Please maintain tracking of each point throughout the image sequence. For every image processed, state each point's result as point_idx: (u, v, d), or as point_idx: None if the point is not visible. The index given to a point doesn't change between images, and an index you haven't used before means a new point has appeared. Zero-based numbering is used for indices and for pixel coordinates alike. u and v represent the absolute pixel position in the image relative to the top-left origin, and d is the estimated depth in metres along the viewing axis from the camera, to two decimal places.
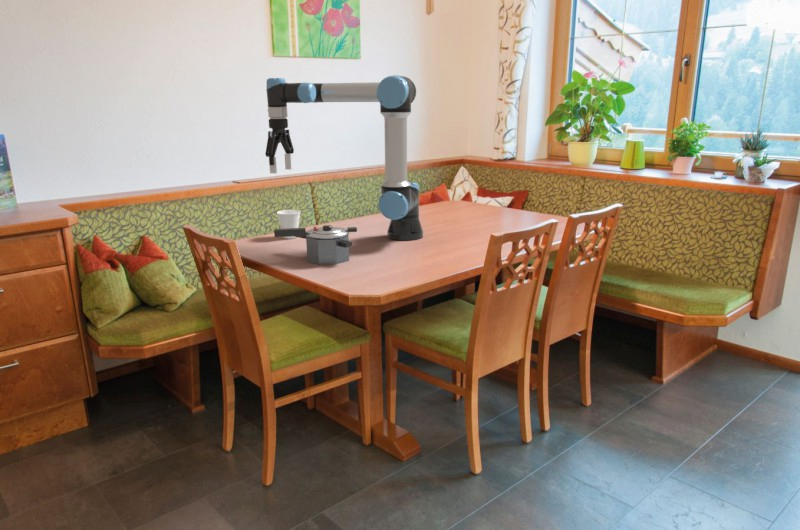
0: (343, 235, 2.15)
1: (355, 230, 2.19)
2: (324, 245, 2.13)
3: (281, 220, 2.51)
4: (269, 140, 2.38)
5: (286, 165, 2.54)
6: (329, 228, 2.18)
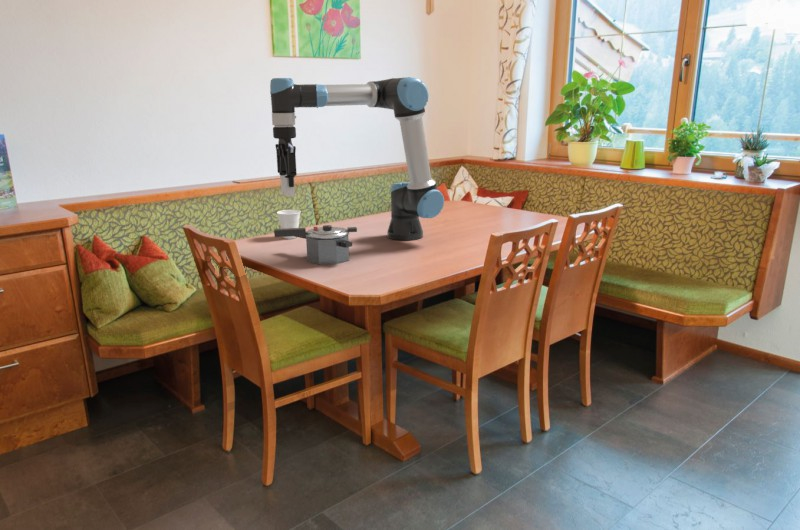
0: (343, 235, 2.15)
1: (355, 230, 2.19)
2: (324, 245, 2.13)
3: (281, 220, 2.51)
4: None
5: None
6: (329, 228, 2.18)
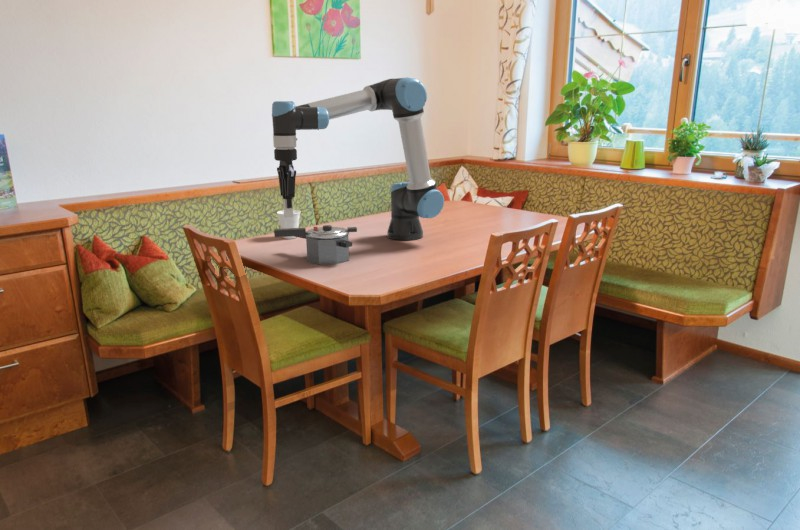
0: (343, 235, 2.15)
1: (355, 230, 2.19)
2: (324, 245, 2.13)
3: (281, 220, 2.51)
4: None
5: None
6: (329, 228, 2.18)
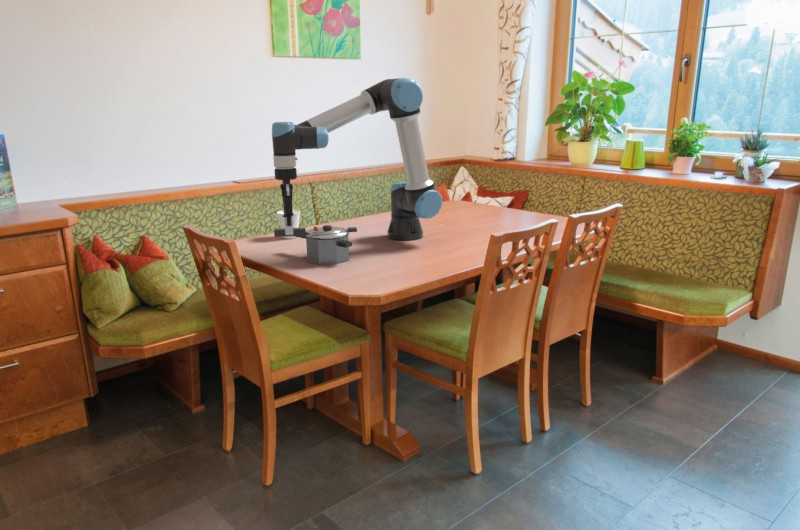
0: (343, 235, 2.15)
1: (355, 230, 2.19)
2: (324, 245, 2.13)
3: (281, 220, 2.51)
4: None
5: None
6: (329, 228, 2.18)
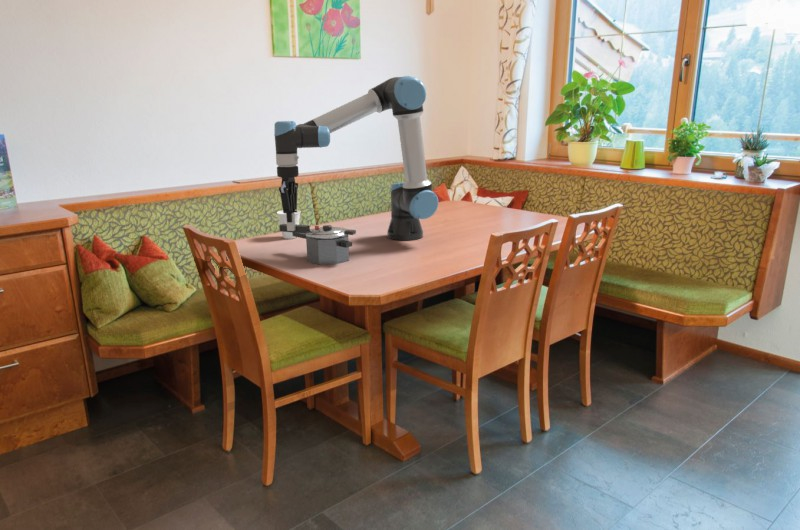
0: (334, 237, 2.13)
1: (351, 233, 2.15)
2: (324, 245, 2.13)
3: (281, 220, 2.51)
4: None
5: None
6: (327, 228, 2.17)
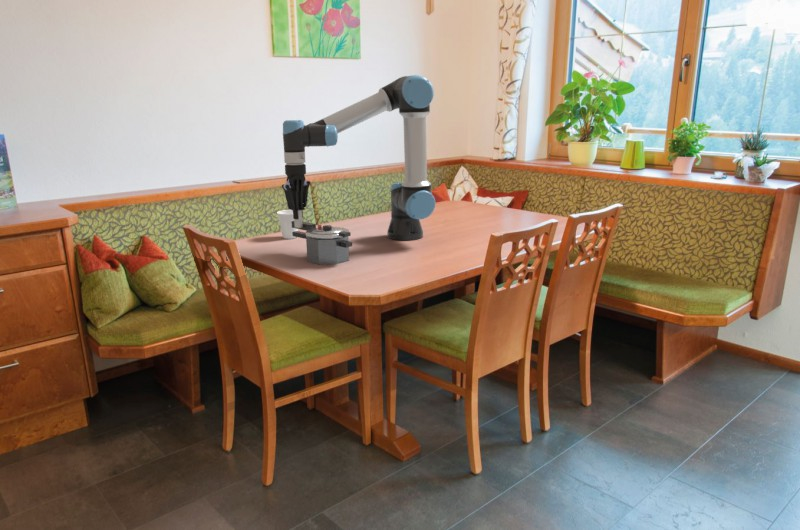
0: (325, 237, 2.12)
1: (343, 235, 2.12)
2: (324, 245, 2.13)
3: (281, 220, 2.51)
4: None
5: None
6: (325, 228, 2.17)
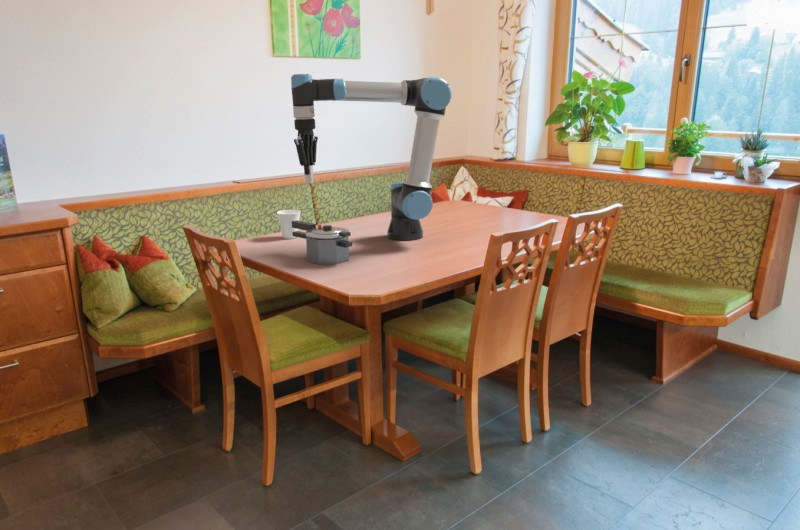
0: (325, 237, 2.12)
1: (343, 235, 2.12)
2: (324, 245, 2.13)
3: (281, 220, 2.51)
4: None
5: None
6: (325, 228, 2.17)
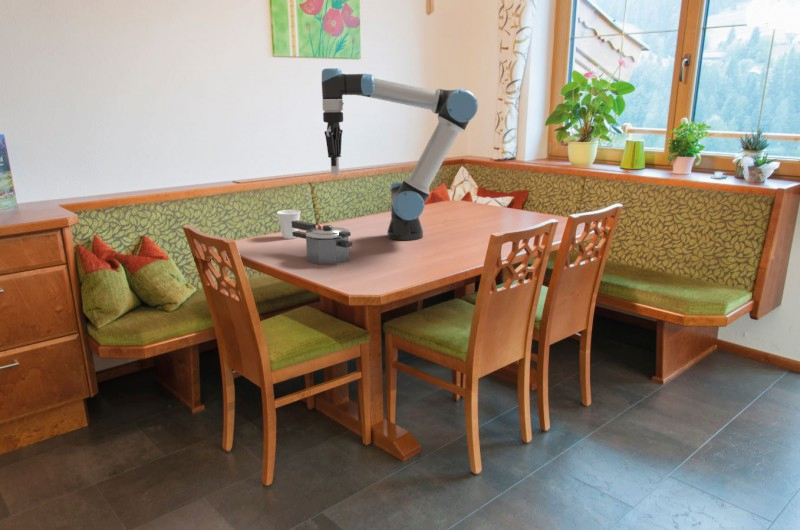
0: (325, 237, 2.12)
1: (343, 235, 2.12)
2: (324, 245, 2.13)
3: (281, 220, 2.51)
4: None
5: None
6: (325, 228, 2.17)
